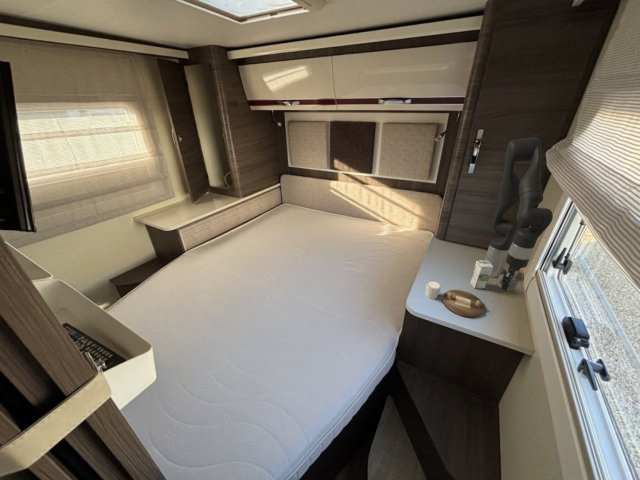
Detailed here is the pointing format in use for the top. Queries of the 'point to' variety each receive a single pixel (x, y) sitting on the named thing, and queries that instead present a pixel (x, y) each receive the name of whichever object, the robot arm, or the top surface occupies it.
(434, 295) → the white cup
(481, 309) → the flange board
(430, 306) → the top surface
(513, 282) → the dice cube
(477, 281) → the syrup box
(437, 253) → the top surface
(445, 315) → the top surface
